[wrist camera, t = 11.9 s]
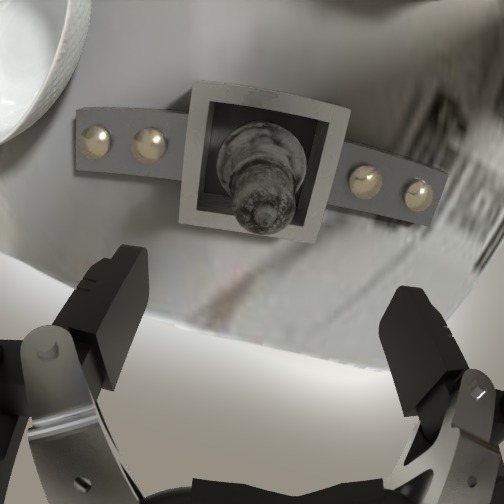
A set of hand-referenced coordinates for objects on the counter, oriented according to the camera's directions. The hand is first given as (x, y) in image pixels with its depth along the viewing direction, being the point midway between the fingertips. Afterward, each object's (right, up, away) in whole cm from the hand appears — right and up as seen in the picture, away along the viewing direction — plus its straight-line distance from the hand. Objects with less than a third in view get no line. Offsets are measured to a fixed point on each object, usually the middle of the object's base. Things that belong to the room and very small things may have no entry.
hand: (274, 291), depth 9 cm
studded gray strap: (0, +9, +13) cm, 16 cm away
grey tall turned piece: (0, +9, +13) cm, 16 cm away
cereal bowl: (-19, +19, +7) cm, 28 cm away
